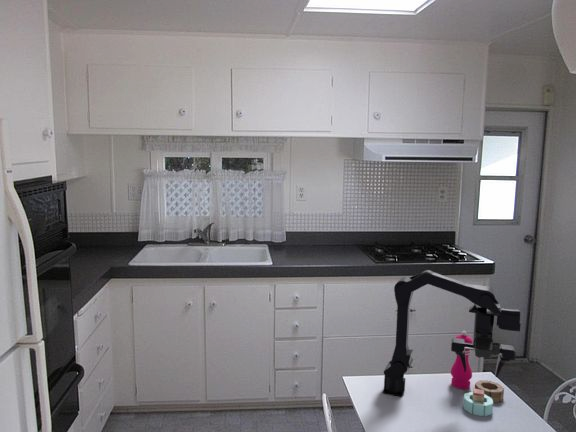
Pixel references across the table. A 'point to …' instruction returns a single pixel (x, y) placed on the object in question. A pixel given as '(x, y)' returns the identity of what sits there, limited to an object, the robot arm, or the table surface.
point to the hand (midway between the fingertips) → (480, 374)
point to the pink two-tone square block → (478, 395)
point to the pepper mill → (457, 369)
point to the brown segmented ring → (491, 389)
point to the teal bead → (478, 405)
